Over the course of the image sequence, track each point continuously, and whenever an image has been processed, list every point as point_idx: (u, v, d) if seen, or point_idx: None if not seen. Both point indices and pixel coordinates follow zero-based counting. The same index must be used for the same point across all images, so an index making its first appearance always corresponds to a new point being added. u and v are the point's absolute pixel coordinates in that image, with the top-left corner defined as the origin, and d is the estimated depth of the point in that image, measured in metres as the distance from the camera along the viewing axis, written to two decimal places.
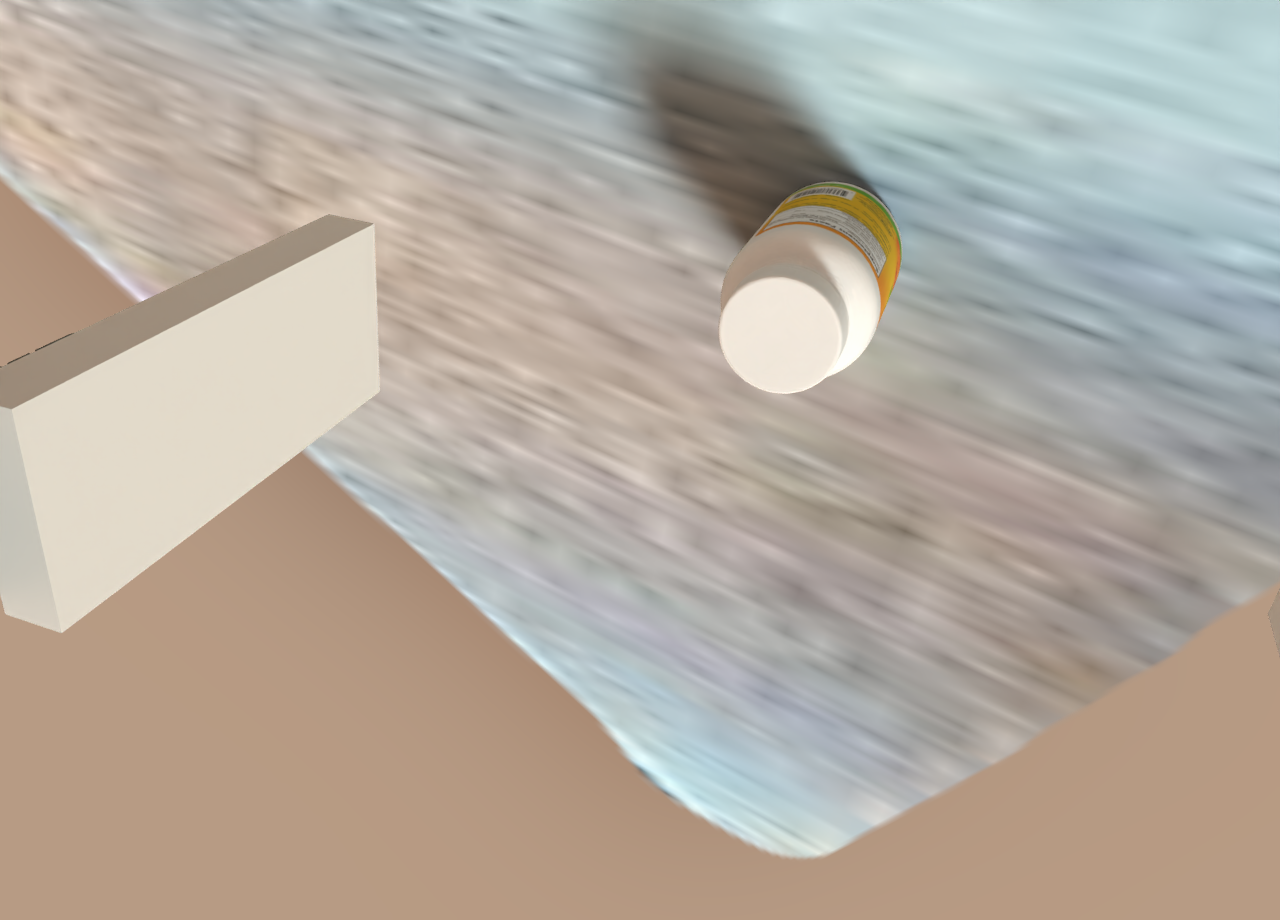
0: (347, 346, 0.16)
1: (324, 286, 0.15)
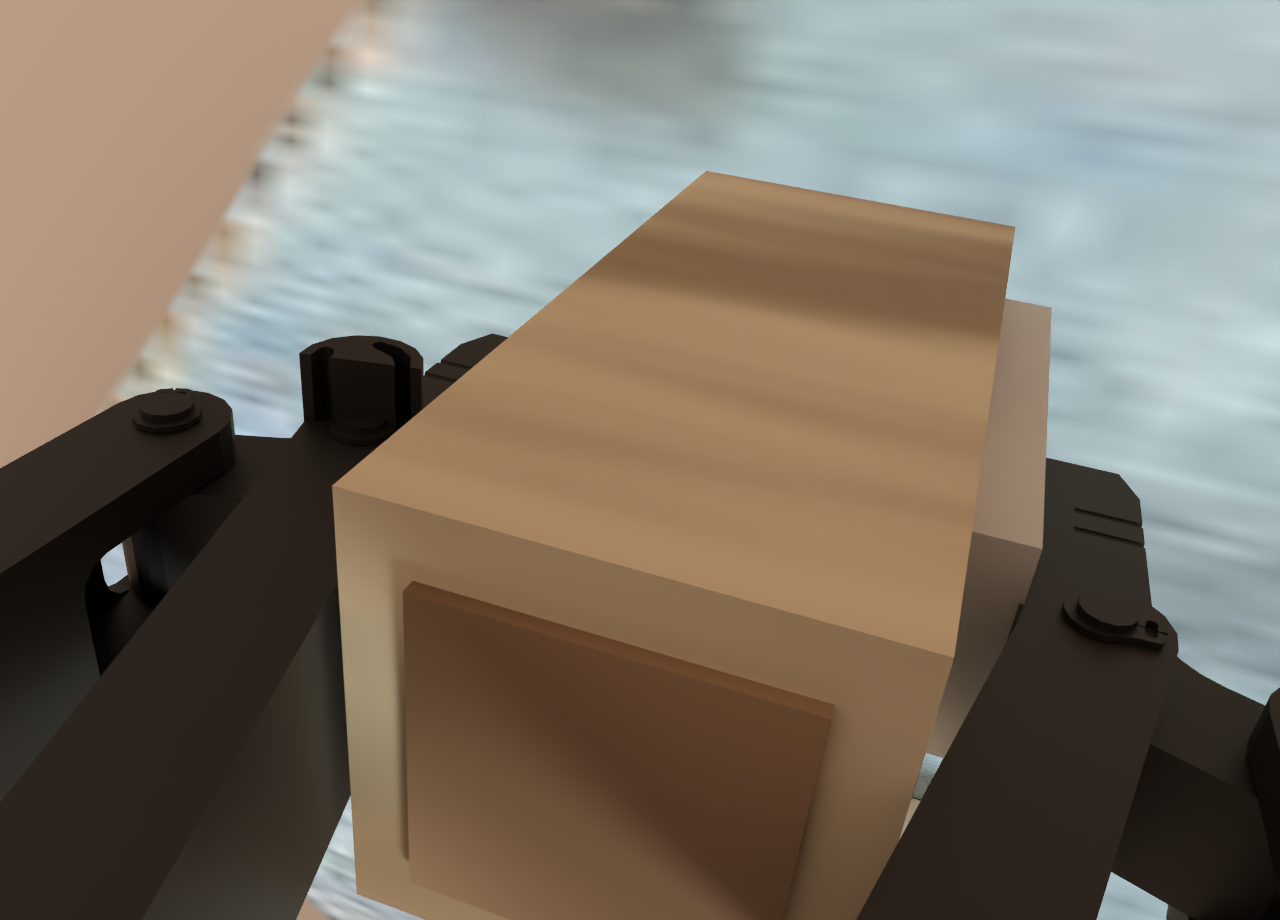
0: None
1: None
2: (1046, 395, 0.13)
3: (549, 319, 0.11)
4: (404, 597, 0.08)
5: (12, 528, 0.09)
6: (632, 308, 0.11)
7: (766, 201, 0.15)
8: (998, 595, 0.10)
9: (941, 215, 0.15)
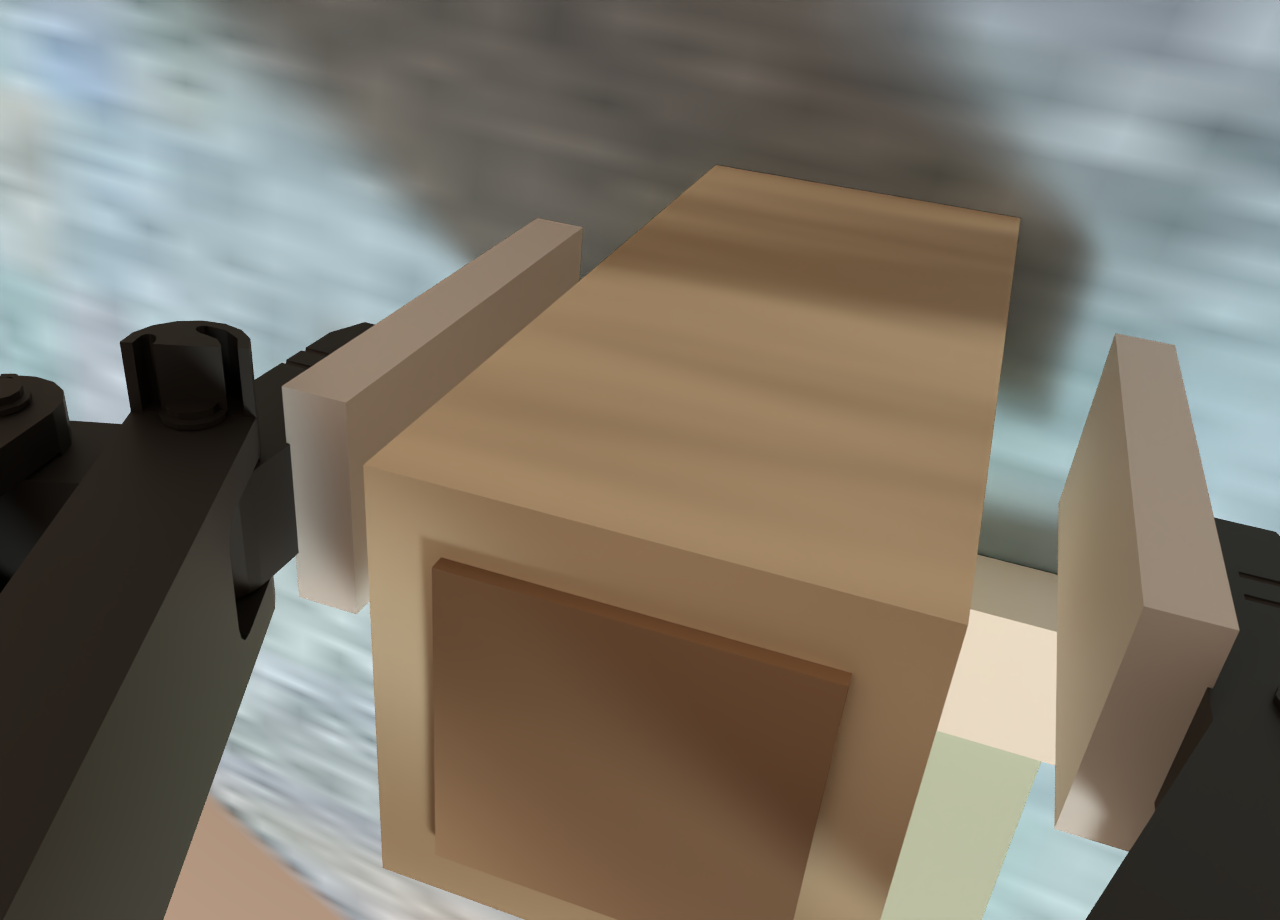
0: None
1: (547, 287, 0.16)
2: (1195, 446, 0.12)
3: (567, 307, 0.11)
4: (433, 573, 0.08)
5: None
6: (648, 297, 0.12)
7: (775, 194, 0.15)
8: (1183, 677, 0.09)
9: (947, 207, 0.16)
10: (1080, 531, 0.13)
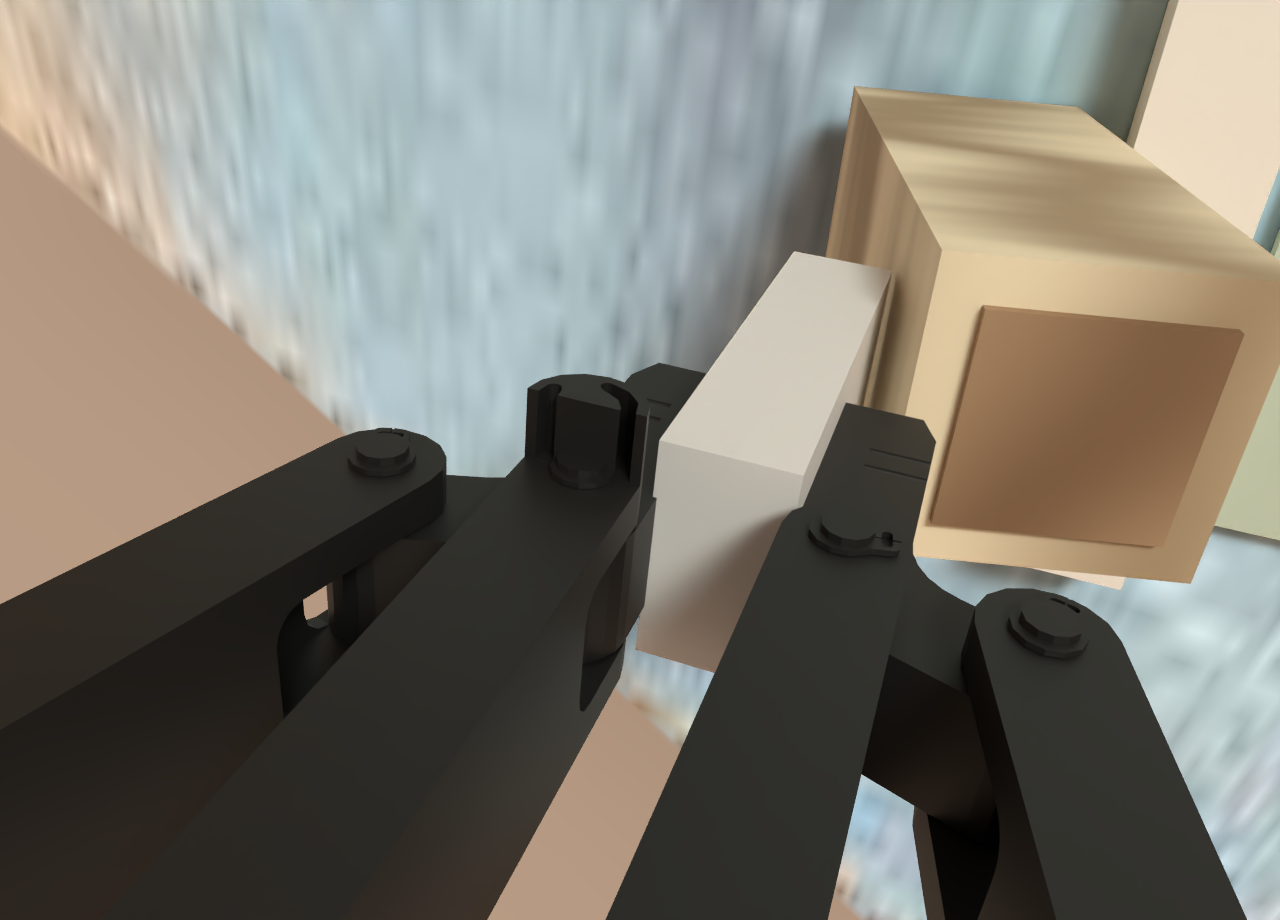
0: None
1: None
2: (857, 346, 0.13)
3: None
4: (937, 524, 0.15)
5: (215, 566, 0.09)
6: None
7: None
8: (770, 521, 0.11)
9: (846, 137, 0.22)
10: None
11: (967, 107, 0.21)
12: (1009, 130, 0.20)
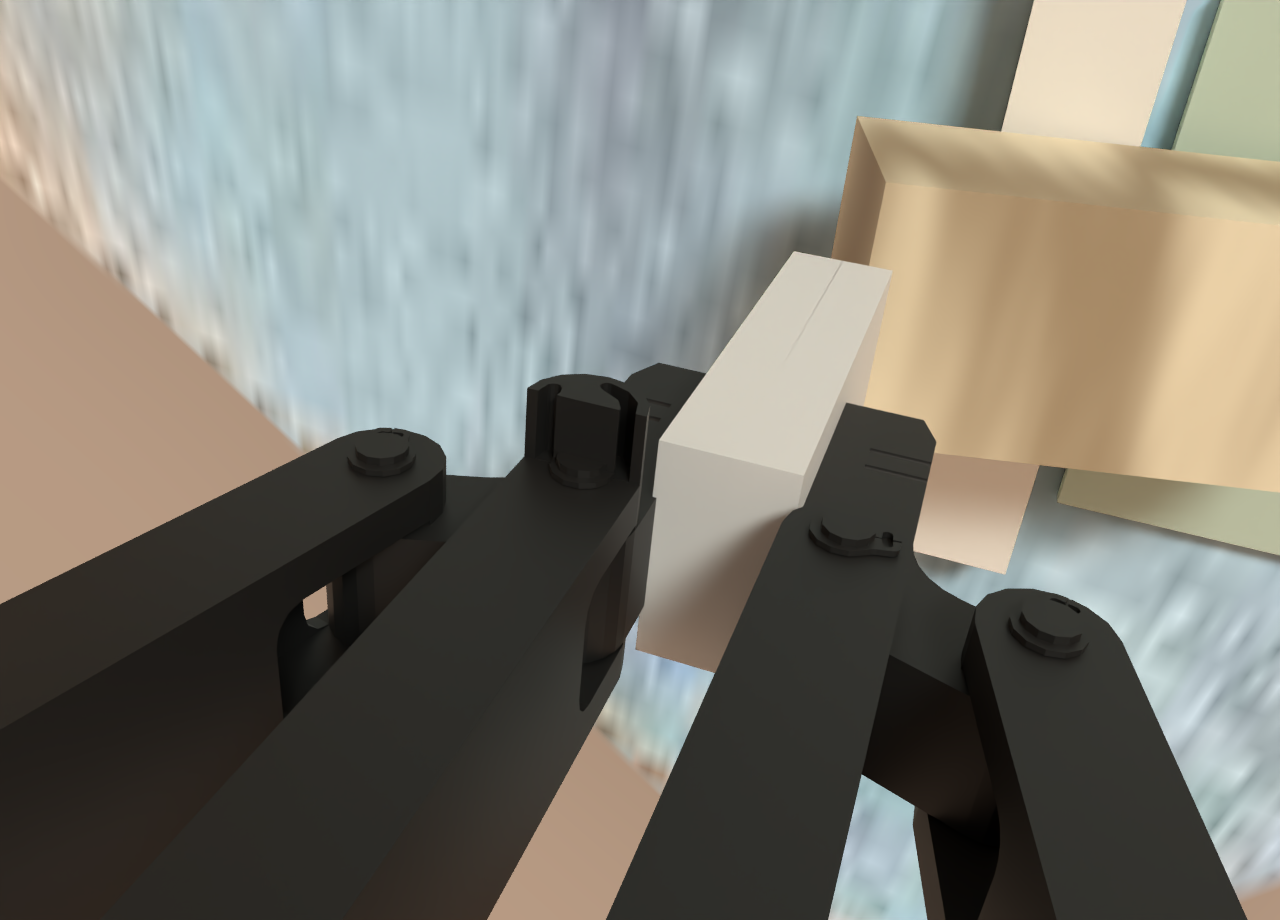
0: None
1: None
2: (858, 346, 0.13)
3: (1208, 475, 0.19)
4: None
5: (215, 566, 0.09)
6: (1180, 437, 0.18)
7: (904, 387, 0.18)
8: (770, 521, 0.11)
9: (878, 246, 0.17)
10: None
11: (936, 155, 0.18)
12: (1032, 160, 0.19)
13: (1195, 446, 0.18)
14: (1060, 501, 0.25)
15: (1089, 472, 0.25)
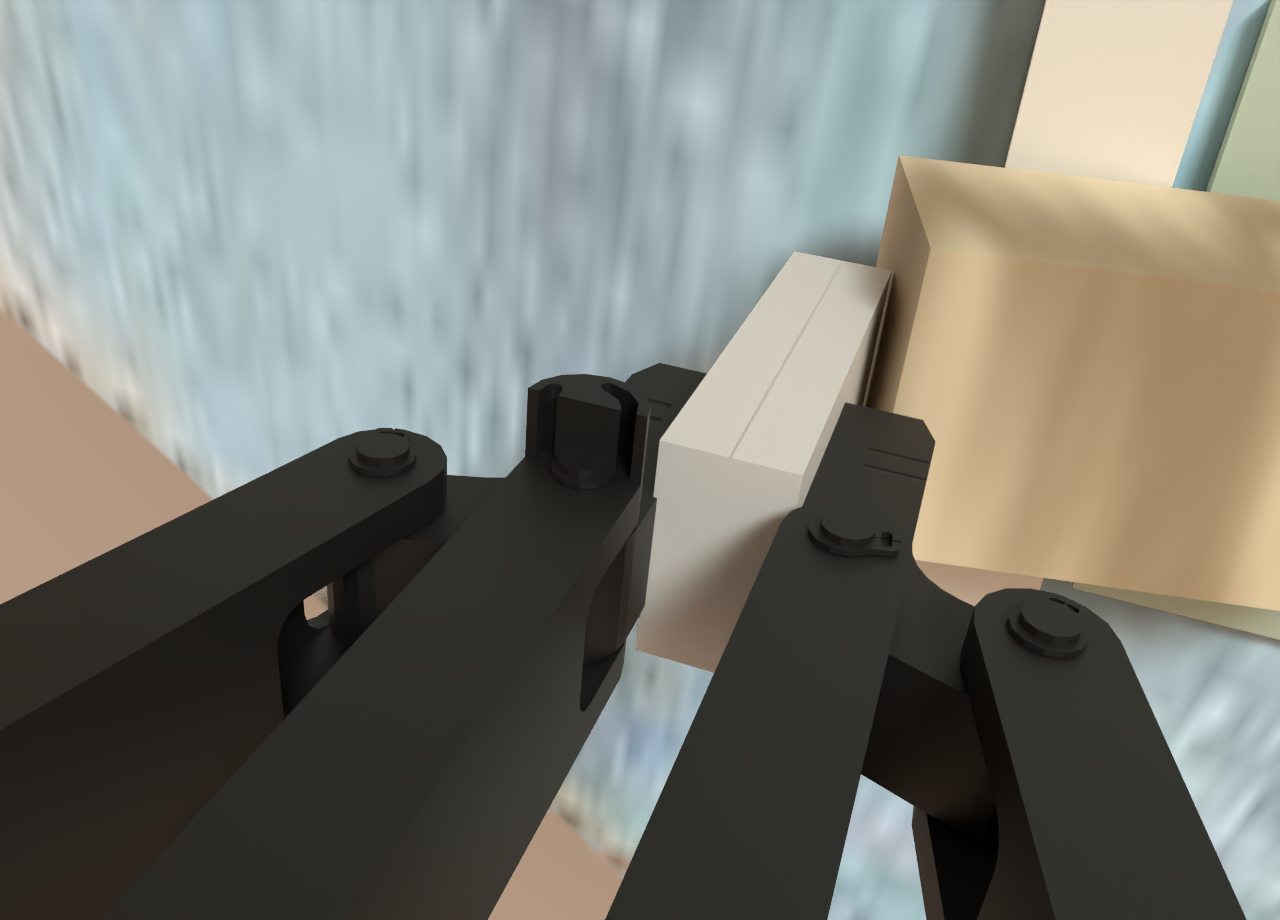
0: None
1: None
2: (857, 346, 0.13)
3: None
4: None
5: (216, 567, 0.09)
6: None
7: (948, 492, 0.15)
8: (769, 521, 0.11)
9: (919, 326, 0.14)
10: None
11: (994, 209, 0.15)
12: (1113, 215, 0.15)
13: None
14: (1076, 587, 0.22)
15: None
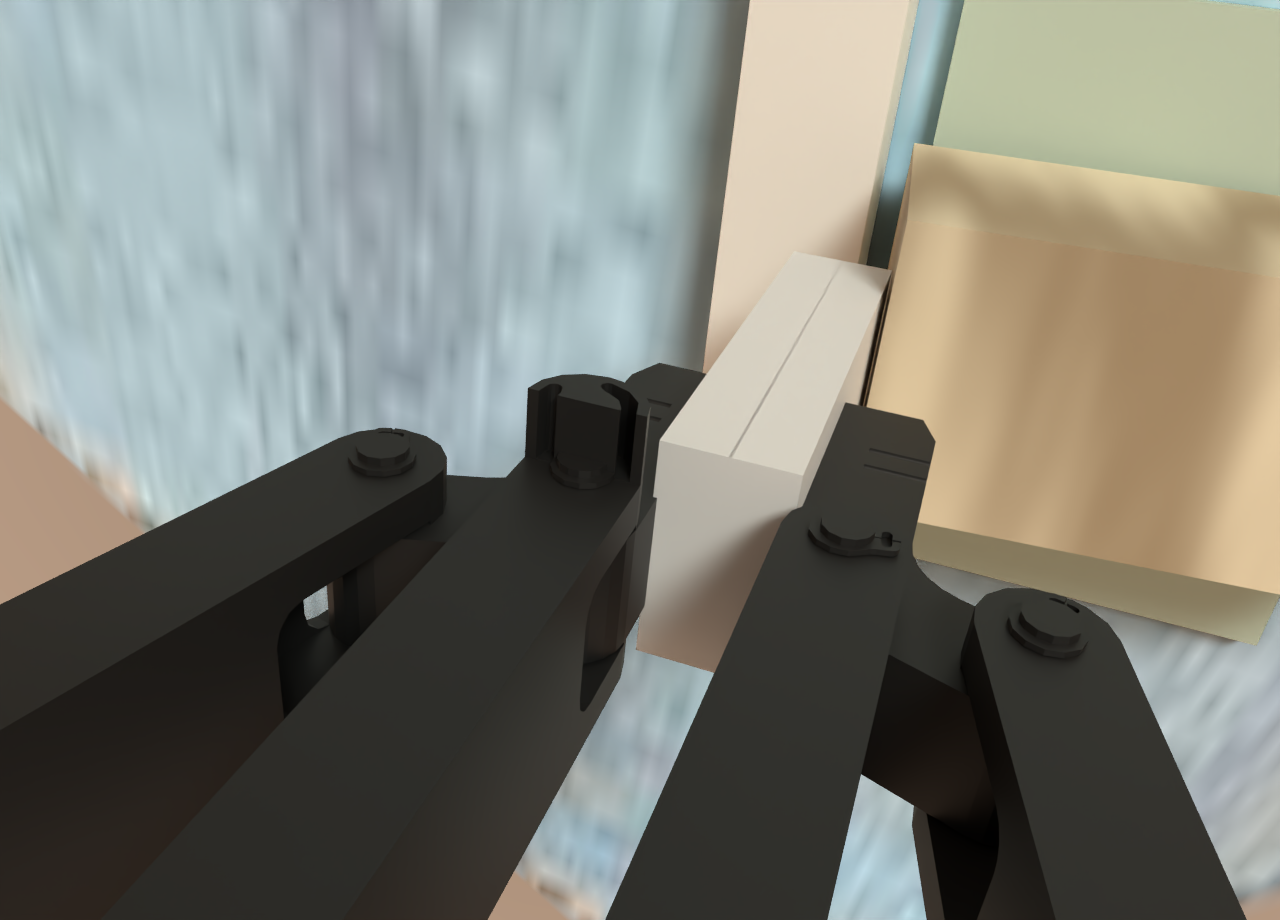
0: None
1: None
2: (857, 346, 0.13)
3: None
4: None
5: (216, 567, 0.09)
6: (1259, 539, 0.15)
7: None
8: (769, 520, 0.11)
9: (897, 292, 0.15)
10: None
11: (986, 191, 0.16)
12: (1104, 202, 0.16)
13: (1279, 551, 0.15)
14: None
15: None
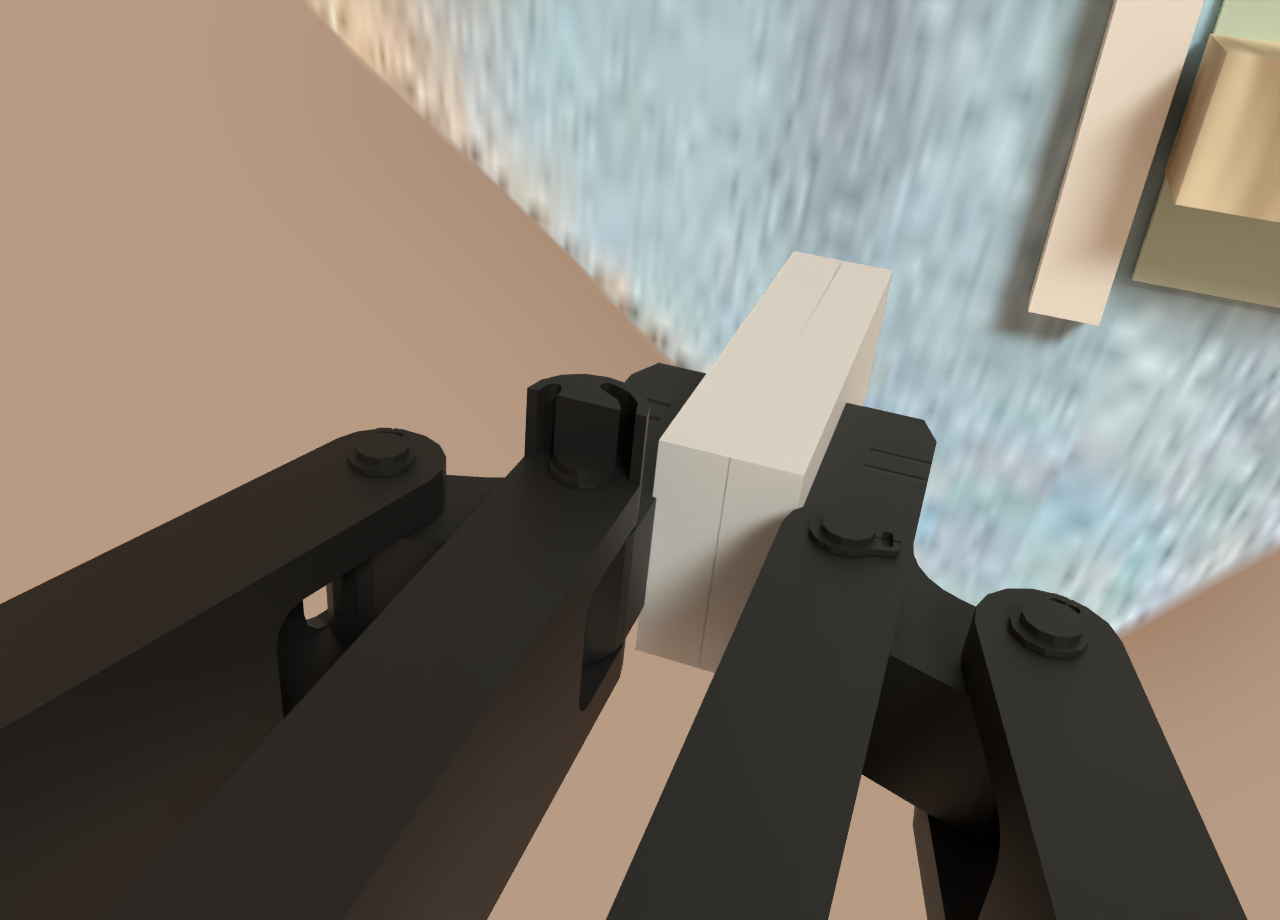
0: None
1: None
2: (858, 346, 0.13)
3: None
4: None
5: (215, 566, 0.09)
6: None
7: (1221, 173, 0.33)
8: (770, 521, 0.11)
9: (1217, 88, 0.32)
10: None
11: (1257, 48, 0.33)
12: None
13: None
14: (1134, 279, 0.40)
15: (1153, 258, 0.39)
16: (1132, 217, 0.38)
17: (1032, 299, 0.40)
